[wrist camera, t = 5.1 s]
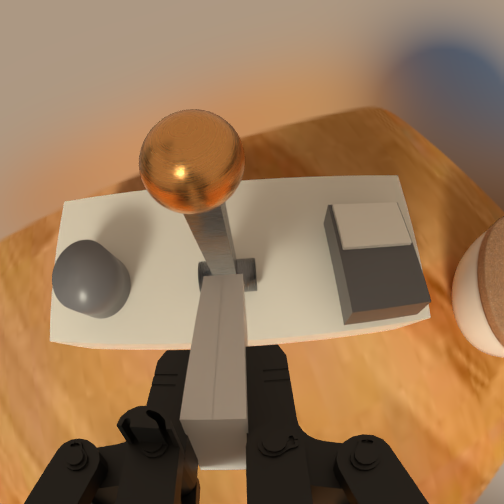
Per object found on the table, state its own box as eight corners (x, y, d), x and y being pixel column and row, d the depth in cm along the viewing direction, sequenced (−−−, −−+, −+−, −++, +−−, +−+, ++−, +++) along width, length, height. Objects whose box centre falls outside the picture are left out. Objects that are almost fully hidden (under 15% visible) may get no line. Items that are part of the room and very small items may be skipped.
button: (74, 318, 18) (49, 310, 15) (78, 257, 19) (56, 242, 16) (129, 318, 18) (110, 309, 15) (131, 253, 19) (114, 236, 16)
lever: (204, 304, 18) (107, 186, 6) (202, 260, 19) (126, 98, 7) (257, 301, 18) (257, 170, 6) (254, 256, 19) (248, 82, 7)
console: (91, 348, 23) (49, 341, 17) (97, 231, 26) (64, 199, 21) (393, 329, 23) (430, 317, 17) (372, 210, 26) (397, 173, 21)
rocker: (344, 325, 16) (353, 310, 14) (323, 223, 19) (328, 202, 18) (417, 314, 16) (433, 299, 14) (388, 220, 19) (398, 199, 18)
